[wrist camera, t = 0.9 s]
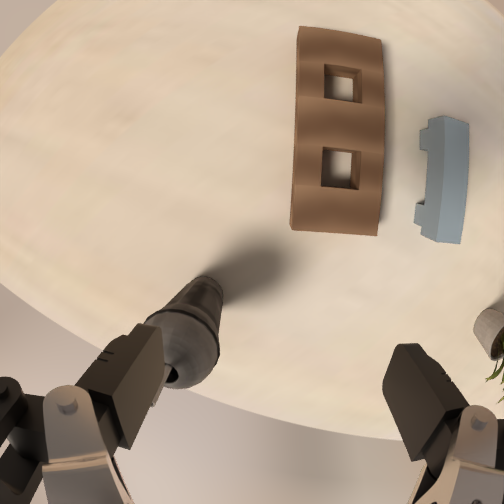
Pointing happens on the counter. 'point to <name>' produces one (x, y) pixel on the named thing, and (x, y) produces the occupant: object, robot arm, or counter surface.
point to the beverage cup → (189, 334)
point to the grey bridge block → (444, 179)
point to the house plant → (491, 337)
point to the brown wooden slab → (338, 132)
